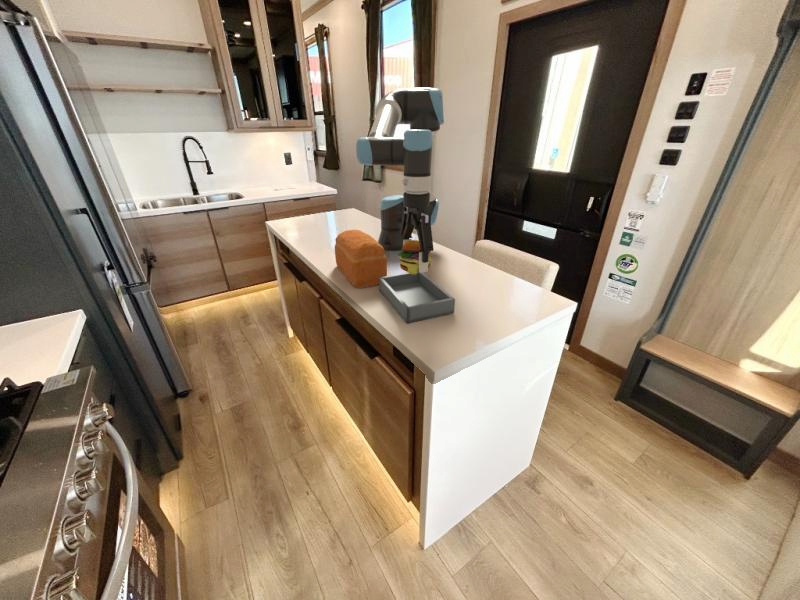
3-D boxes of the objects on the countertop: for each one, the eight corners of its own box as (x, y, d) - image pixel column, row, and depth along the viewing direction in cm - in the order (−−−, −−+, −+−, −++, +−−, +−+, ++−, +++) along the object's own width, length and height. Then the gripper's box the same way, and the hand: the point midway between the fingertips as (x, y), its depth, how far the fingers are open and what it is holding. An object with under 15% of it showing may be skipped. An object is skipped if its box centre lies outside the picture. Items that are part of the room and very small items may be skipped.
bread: (354, 290, 113) (351, 247, 106) (334, 265, 134) (330, 228, 126) (390, 283, 118) (389, 242, 111) (365, 260, 139) (363, 224, 132)
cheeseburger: (394, 273, 96) (395, 240, 93) (401, 269, 106) (402, 238, 103) (428, 276, 94) (430, 241, 91) (432, 271, 104) (433, 239, 102)
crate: (379, 290, 113) (378, 277, 111) (419, 282, 118) (420, 270, 116) (406, 323, 93) (406, 309, 91) (453, 313, 99) (455, 298, 97)
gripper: (389, 186, 98) (390, 254, 108) (423, 199, 79) (420, 281, 89) (411, 185, 100) (410, 251, 111) (449, 197, 81) (444, 276, 91)
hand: (414, 265), depth 100 cm, fingers closed on cheeseburger, 11 cm apart
